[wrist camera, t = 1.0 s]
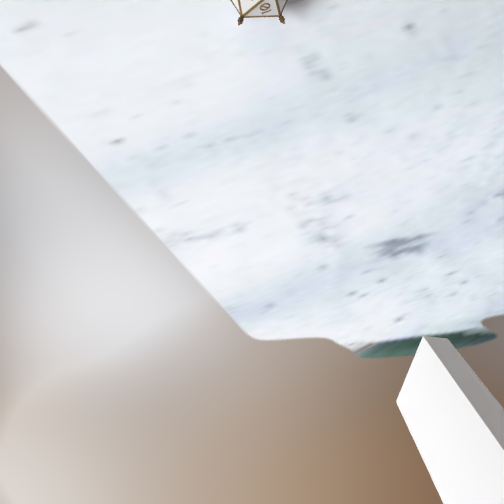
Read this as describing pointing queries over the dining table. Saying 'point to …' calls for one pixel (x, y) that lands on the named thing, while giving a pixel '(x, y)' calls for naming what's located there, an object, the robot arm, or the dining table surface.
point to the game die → (259, 8)
